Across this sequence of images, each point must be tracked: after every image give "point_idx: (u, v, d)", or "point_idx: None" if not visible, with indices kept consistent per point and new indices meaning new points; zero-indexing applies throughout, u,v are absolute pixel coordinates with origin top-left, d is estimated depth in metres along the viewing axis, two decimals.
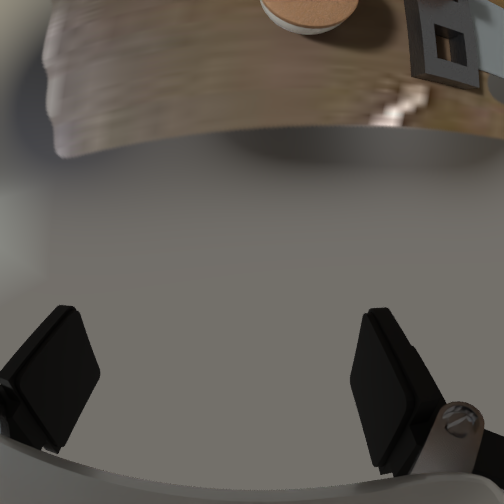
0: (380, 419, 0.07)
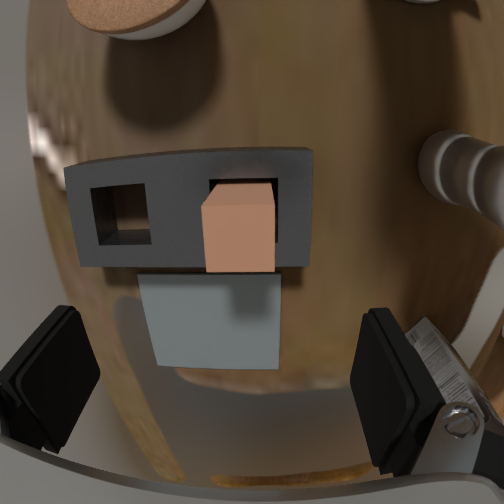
0: (380, 420, 0.07)
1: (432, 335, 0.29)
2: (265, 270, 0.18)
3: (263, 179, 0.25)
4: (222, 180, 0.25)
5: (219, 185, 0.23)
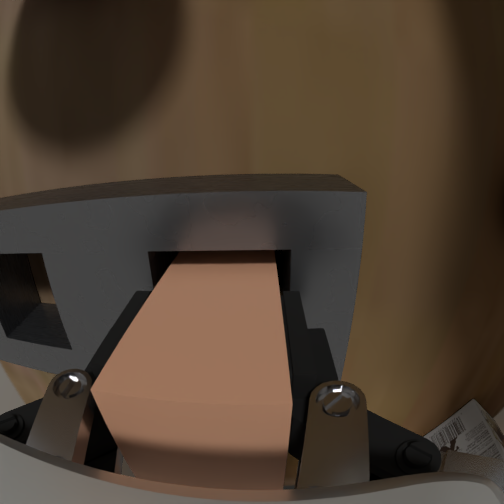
0: None
1: (482, 427, 0.17)
2: None
3: (261, 251, 0.13)
4: (183, 253, 0.13)
5: (170, 273, 0.11)
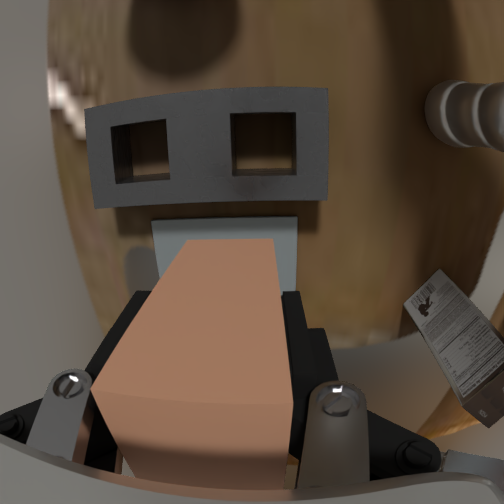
0: None
1: (448, 284, 0.28)
2: None
3: (261, 251, 0.13)
4: (183, 252, 0.13)
5: (170, 272, 0.11)
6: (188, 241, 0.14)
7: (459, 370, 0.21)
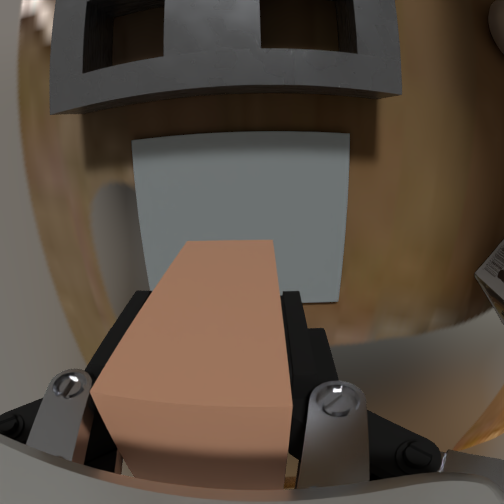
0: None
1: None
2: None
3: (261, 252, 0.13)
4: (182, 253, 0.13)
5: (170, 274, 0.11)
6: (188, 242, 0.14)
7: None
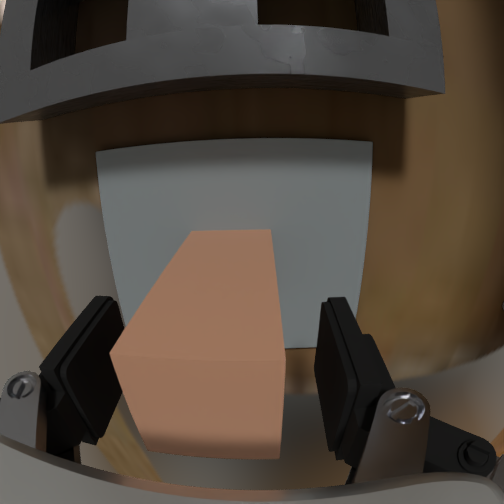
0: (332, 404, 0.07)
1: None
2: (262, 457, 0.08)
3: (259, 240, 0.14)
4: (188, 241, 0.14)
5: (177, 258, 0.12)
6: (192, 232, 0.16)
7: None
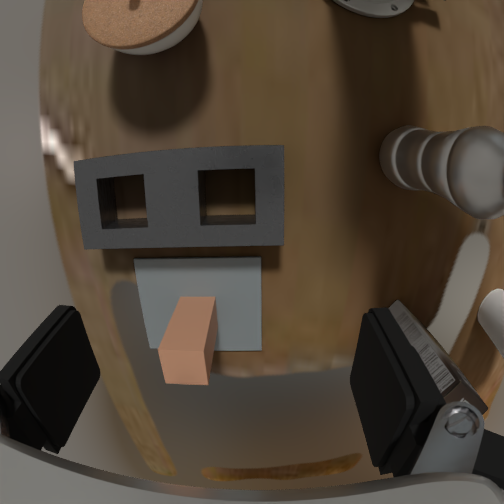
0: (380, 419, 0.07)
1: (403, 314, 0.33)
2: (202, 384, 0.27)
3: (208, 304, 0.33)
4: (178, 304, 0.33)
5: (174, 314, 0.31)
6: (180, 297, 0.34)
7: None
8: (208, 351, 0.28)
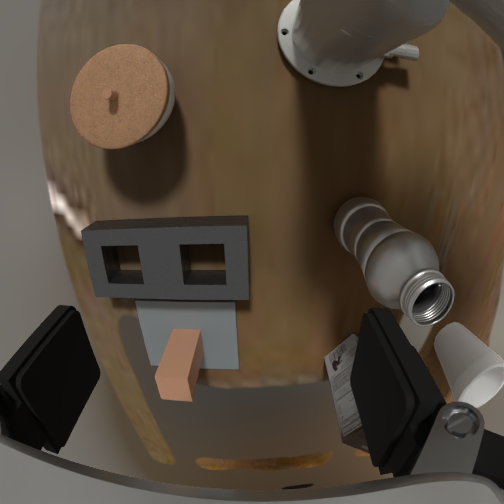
0: (380, 420, 0.07)
1: (355, 348, 0.40)
2: (188, 400, 0.35)
3: (194, 337, 0.41)
4: (171, 336, 0.41)
5: (168, 345, 0.39)
6: (173, 330, 0.43)
7: (345, 416, 0.33)
8: (192, 376, 0.36)
